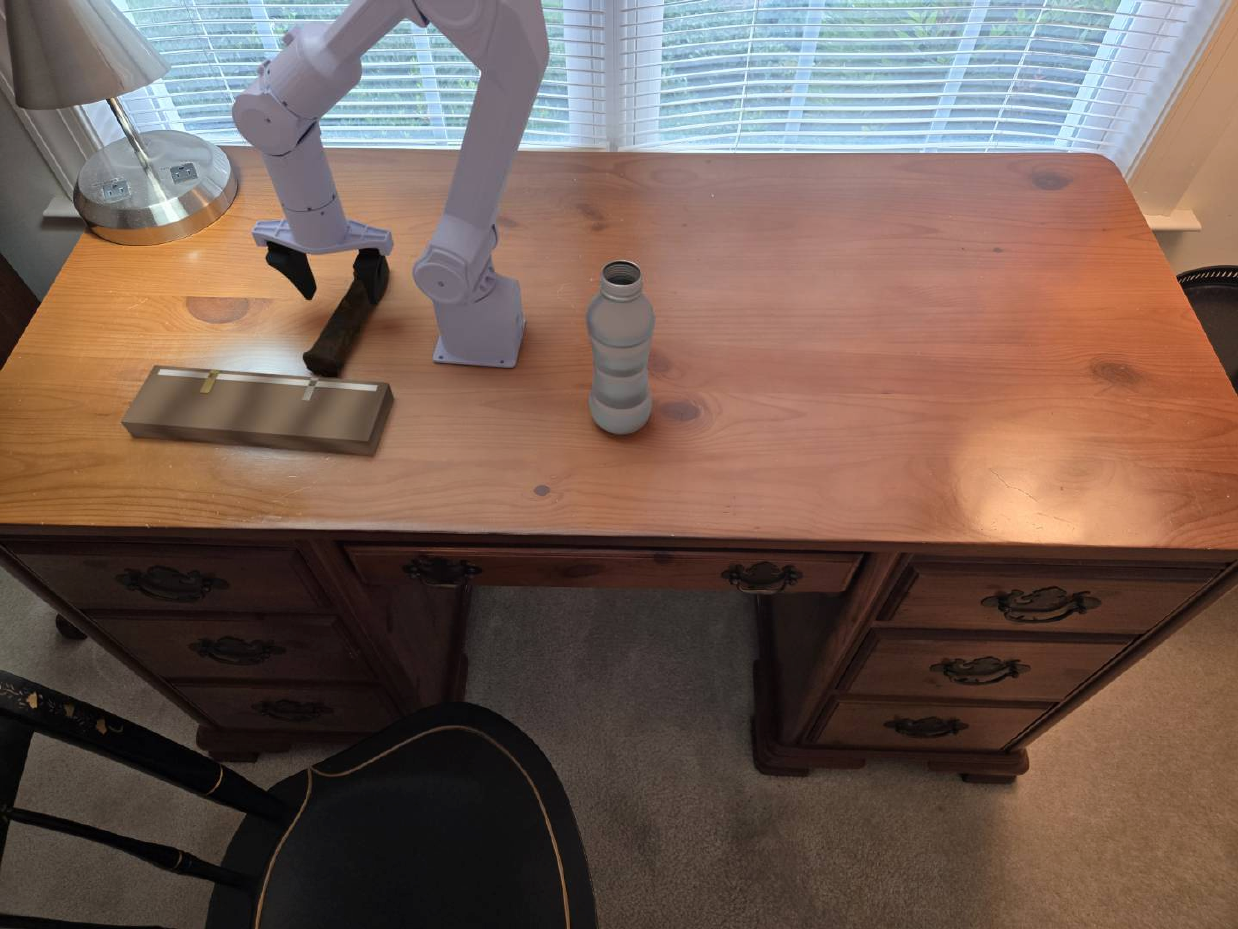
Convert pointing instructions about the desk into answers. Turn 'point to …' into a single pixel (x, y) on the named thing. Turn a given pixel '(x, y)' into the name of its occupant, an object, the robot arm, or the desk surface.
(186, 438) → the grey brown flat box
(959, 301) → the desk surface
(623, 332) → the plastic bottle
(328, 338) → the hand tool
